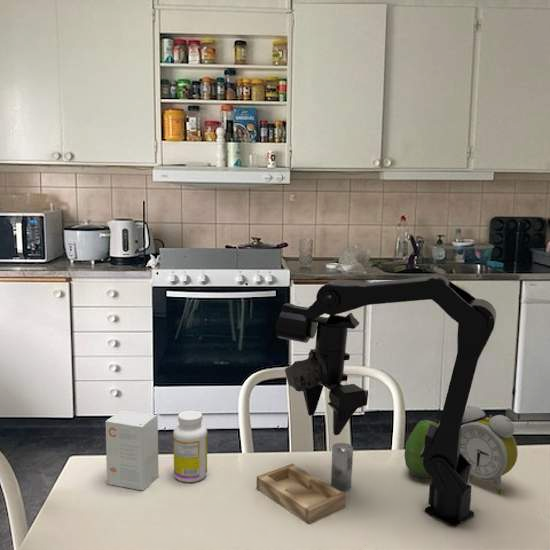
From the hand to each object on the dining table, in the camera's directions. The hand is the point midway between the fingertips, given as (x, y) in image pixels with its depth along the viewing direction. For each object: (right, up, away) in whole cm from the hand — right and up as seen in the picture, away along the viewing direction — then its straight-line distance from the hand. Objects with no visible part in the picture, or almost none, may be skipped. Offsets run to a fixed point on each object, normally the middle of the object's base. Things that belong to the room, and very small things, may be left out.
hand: (323, 424), depth 117 cm
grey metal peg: (+4, -13, +2) cm, 13 cm away
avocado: (+21, -12, +7) cm, 25 cm away
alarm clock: (+33, -13, +6) cm, 36 cm away
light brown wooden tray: (-5, -13, -2) cm, 14 cm away
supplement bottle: (-26, -12, +5) cm, 29 cm away
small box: (-37, -12, +2) cm, 39 cm away
